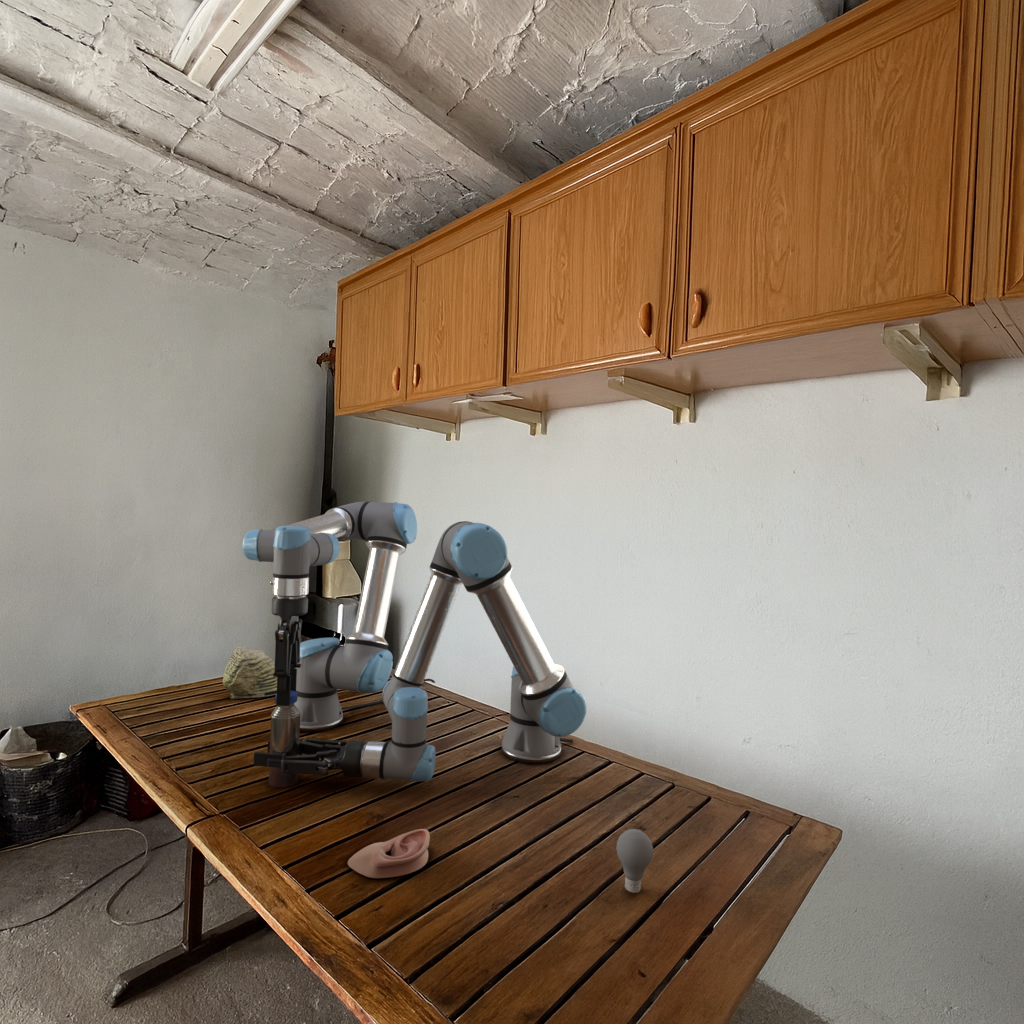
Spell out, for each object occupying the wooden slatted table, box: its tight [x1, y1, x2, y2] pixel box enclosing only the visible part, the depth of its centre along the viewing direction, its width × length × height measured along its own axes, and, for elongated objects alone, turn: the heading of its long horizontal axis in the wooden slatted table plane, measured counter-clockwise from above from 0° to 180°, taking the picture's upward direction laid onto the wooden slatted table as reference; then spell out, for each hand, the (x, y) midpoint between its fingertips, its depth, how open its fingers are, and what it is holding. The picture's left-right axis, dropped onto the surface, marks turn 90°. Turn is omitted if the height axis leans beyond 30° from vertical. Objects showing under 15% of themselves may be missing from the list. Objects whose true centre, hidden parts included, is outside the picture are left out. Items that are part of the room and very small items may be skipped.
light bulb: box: [615, 828, 654, 894], centre depth 106 cm, size 6×6×10 cm
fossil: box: [222, 646, 277, 699], centre depth 198 cm, size 9×18×15 cm, turn 132°
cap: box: [274, 691, 298, 704], centre depth 140 cm, size 5×5×2 cm
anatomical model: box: [347, 828, 431, 879], centre depth 111 cm, size 13×4×12 cm
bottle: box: [268, 703, 301, 788], centre depth 140 cm, size 6×6×19 cm
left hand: (286, 701), depth 140 cm, fingers closed on cap, 4 cm apart
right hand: (261, 752), depth 140 cm, fingers closed on bottle, 6 cm apart
